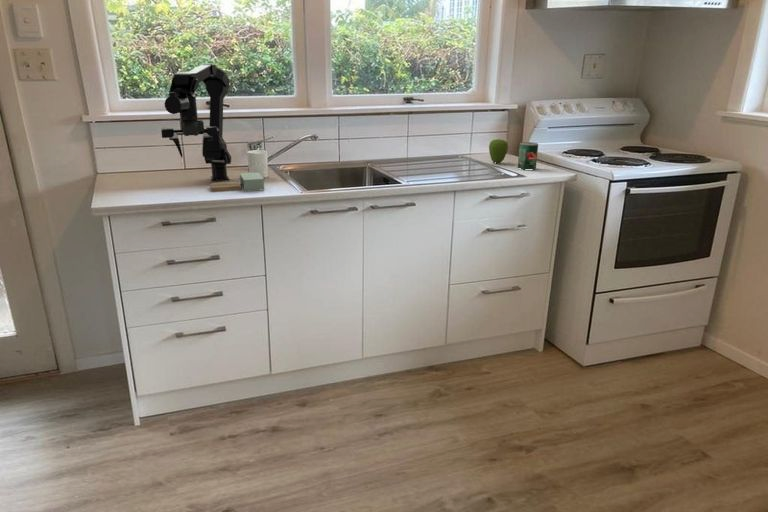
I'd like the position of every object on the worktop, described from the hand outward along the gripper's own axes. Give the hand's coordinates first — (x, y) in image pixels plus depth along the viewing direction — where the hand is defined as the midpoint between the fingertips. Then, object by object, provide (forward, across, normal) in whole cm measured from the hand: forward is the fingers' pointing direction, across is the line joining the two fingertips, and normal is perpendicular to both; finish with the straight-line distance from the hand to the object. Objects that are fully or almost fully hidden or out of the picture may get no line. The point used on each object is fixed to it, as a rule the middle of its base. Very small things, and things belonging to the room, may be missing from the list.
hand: (192, 156), depth 205 cm
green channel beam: (+12, +20, 0) cm, 23 cm away
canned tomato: (+12, +139, +2) cm, 139 cm away
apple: (+12, +133, +17) cm, 135 cm away
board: (+12, +10, 0) cm, 16 cm away
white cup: (+12, +25, +18) cm, 33 cm away
